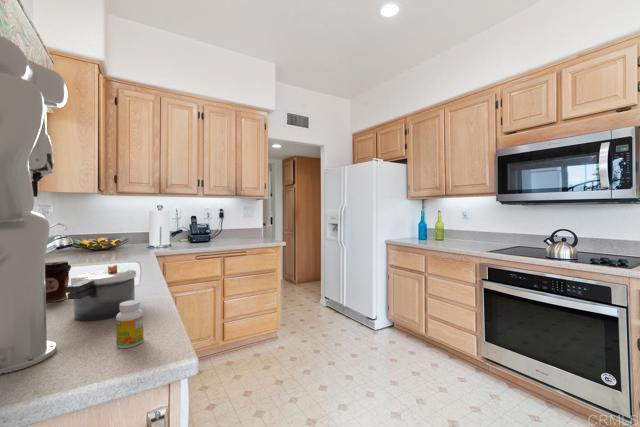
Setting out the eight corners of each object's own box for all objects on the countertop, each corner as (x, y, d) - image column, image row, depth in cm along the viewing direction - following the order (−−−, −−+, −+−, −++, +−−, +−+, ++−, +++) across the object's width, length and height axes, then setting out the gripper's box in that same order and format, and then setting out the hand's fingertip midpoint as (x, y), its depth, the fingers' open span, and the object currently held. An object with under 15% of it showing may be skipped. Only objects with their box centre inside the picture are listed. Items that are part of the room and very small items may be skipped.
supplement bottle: (110, 347, 67) (109, 306, 67) (128, 337, 72) (128, 298, 72) (131, 349, 66) (130, 307, 66) (148, 338, 72) (148, 299, 71)
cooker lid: (93, 273, 96) (93, 264, 96) (145, 272, 98) (145, 262, 98) (38, 293, 74) (38, 281, 74) (106, 291, 77) (106, 279, 76)
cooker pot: (106, 328, 77) (105, 291, 77) (43, 331, 75) (42, 293, 75) (145, 300, 100) (145, 271, 99) (97, 302, 98) (97, 273, 97)
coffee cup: (54, 304, 96) (53, 265, 96) (30, 304, 96) (28, 265, 96) (77, 296, 105) (76, 260, 104) (54, 296, 105) (53, 260, 105)
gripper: (-19, 123, 74) (-17, 196, 74) (47, 125, 76) (49, 196, 76) (9, 130, 81) (11, 196, 82) (68, 132, 83) (69, 197, 84)
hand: (29, 196), depth 79 cm, fingers closed
